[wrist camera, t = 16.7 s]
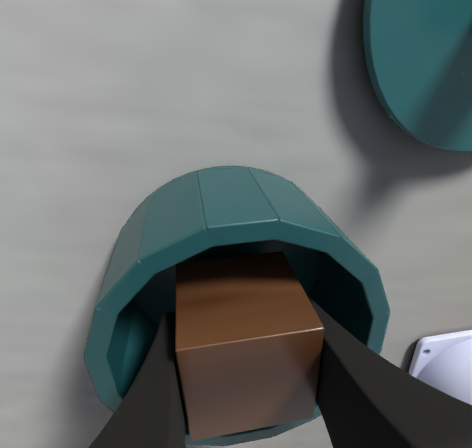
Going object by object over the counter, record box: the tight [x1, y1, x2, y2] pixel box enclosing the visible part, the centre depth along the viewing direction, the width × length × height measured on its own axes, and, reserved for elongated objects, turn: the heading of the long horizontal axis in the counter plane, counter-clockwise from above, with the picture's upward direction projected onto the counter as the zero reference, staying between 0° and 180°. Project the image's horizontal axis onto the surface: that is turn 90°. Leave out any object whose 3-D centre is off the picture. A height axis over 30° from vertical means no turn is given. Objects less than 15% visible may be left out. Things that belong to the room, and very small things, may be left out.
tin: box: [84, 166, 390, 446], centre depth 14 cm, size 11×11×5 cm
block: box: [175, 251, 324, 441], centre depth 12 cm, size 4×4×4 cm
